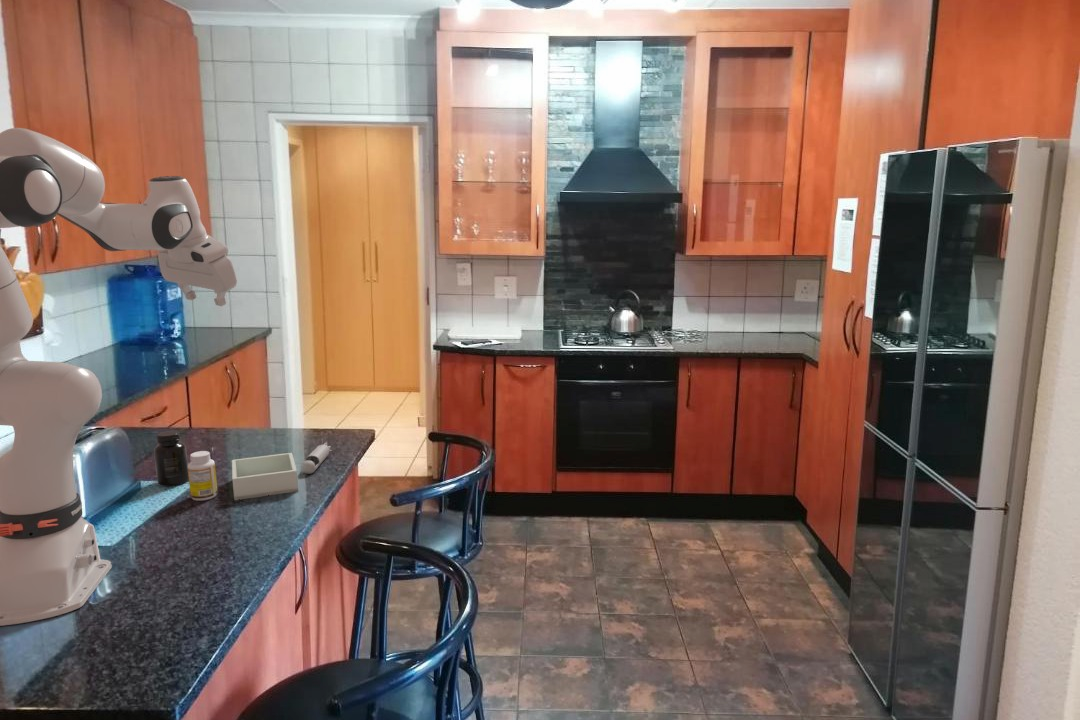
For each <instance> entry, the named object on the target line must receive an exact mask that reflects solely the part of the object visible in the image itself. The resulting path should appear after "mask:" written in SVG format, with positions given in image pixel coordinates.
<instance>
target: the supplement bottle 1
mask: <svg viewBox="0 0 1080 720" xmlns="http://www.w3.org/2000/svg"><path fill="white" fill-rule="evenodd" d="M156 442H157V445H155V447H154V448H153V456H154V463H155V472H156V482H157V484H158V485H159V486H161V487H174V486H173V485H175V486H180V485H182V484H185V483H187V482H189V476H188V464H189V462H188V455H187V454H188V453H187V452H188V451H187V445H185V443H184V442H182V441H181V434H180V431H178V430H166V431H162V432H159V433H157V434H156Z"/></svg>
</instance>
